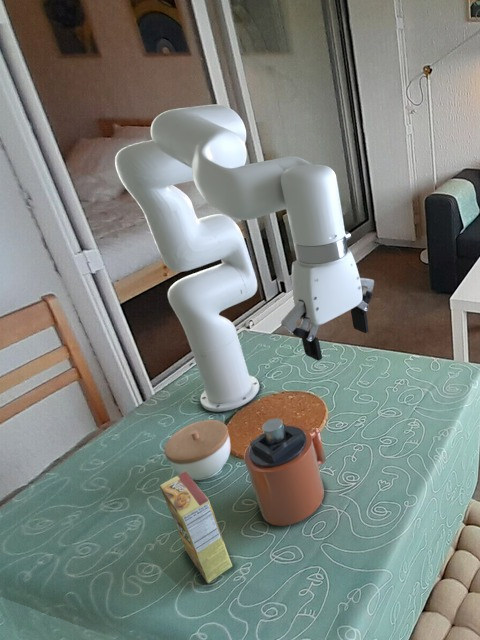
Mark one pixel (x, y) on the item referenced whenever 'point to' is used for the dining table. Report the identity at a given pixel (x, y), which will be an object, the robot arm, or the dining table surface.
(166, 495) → the candy box
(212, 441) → the trinket box
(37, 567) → the dining table surface
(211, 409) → the robot arm
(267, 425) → the jug button
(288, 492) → the jug
